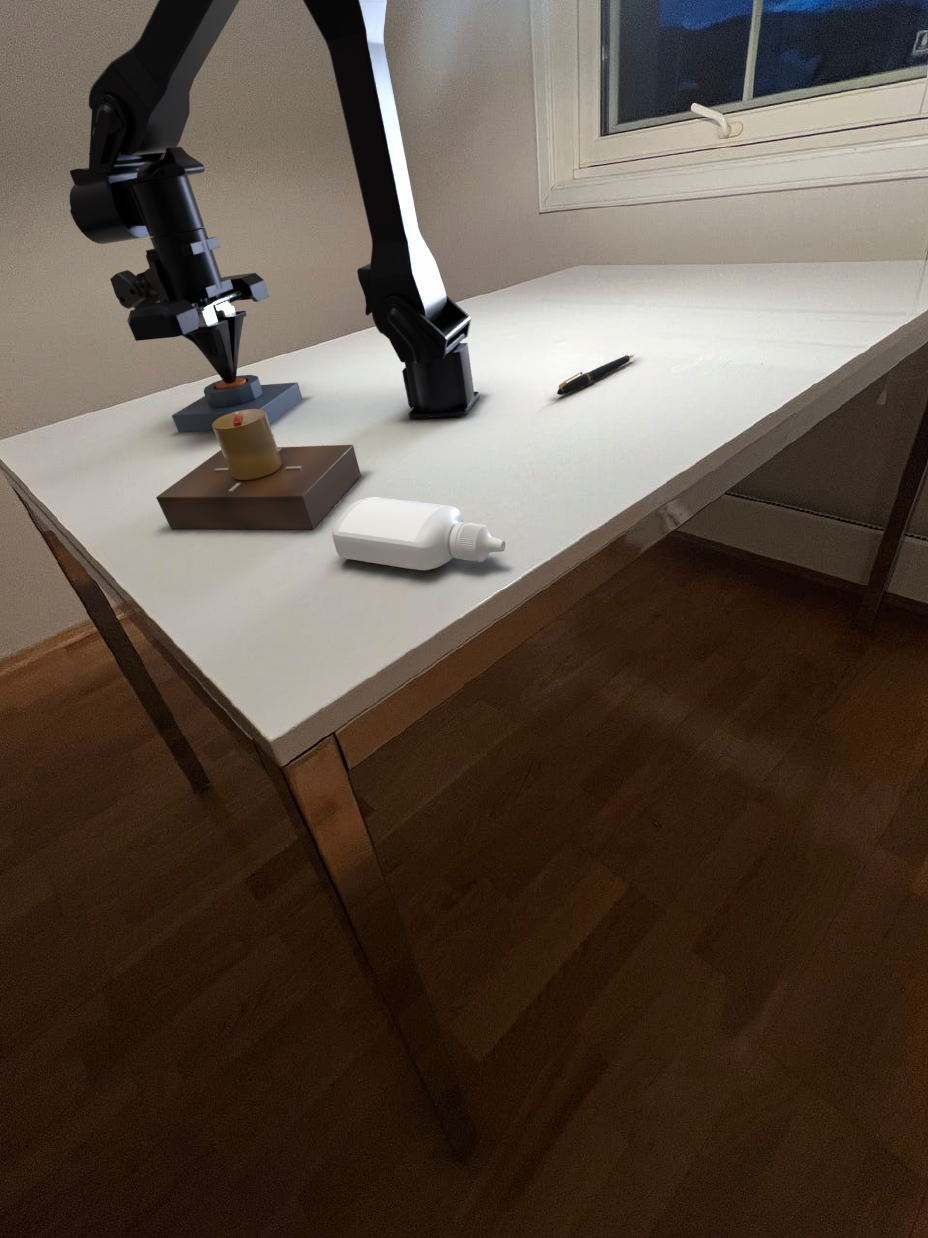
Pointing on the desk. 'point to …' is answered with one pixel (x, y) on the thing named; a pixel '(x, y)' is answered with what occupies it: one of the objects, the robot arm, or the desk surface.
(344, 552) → the eye dropper bottle
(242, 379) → the orange button
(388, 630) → the desk surface
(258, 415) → the brass knob
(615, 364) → the fountain pen
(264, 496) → the knob plate
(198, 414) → the button box
